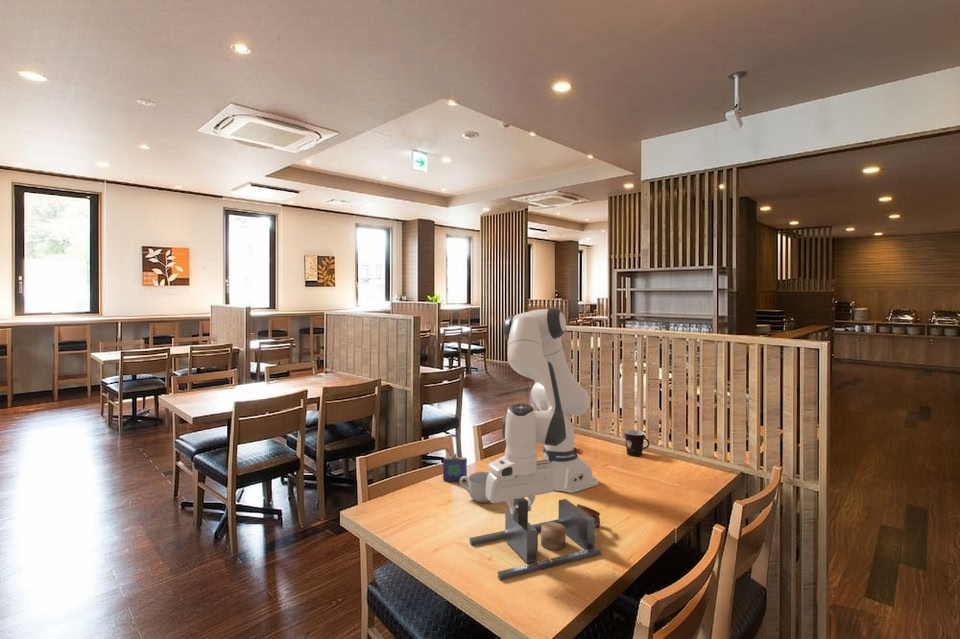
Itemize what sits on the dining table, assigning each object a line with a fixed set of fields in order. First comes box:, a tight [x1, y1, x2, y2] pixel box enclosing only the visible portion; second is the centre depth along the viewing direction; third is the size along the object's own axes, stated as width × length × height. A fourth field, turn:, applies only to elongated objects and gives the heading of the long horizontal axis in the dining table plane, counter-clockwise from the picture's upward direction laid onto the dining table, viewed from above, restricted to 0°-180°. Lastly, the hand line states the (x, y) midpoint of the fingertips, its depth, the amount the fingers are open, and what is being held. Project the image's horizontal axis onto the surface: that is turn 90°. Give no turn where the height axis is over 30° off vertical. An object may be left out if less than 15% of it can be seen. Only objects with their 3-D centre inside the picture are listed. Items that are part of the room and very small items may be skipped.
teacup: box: [458, 471, 491, 504], centre depth 176 cm, size 14×11×8 cm
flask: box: [442, 452, 468, 483], centre depth 192 cm, size 9×3×11 cm, turn 88°
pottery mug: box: [576, 504, 601, 528], centre depth 152 cm, size 12×10×8 cm
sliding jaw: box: [504, 497, 539, 564], centre depth 139 cm, size 4×13×14 cm, turn 23°
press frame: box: [469, 498, 602, 581], centre depth 141 cm, size 31×21×9 cm
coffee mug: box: [624, 429, 650, 458], centre depth 222 cm, size 12×9×10 cm
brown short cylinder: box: [540, 521, 567, 552], centre depth 144 cm, size 7×7×5 cm
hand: (520, 512), depth 139 cm, fingers closed on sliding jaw, 3 cm apart
